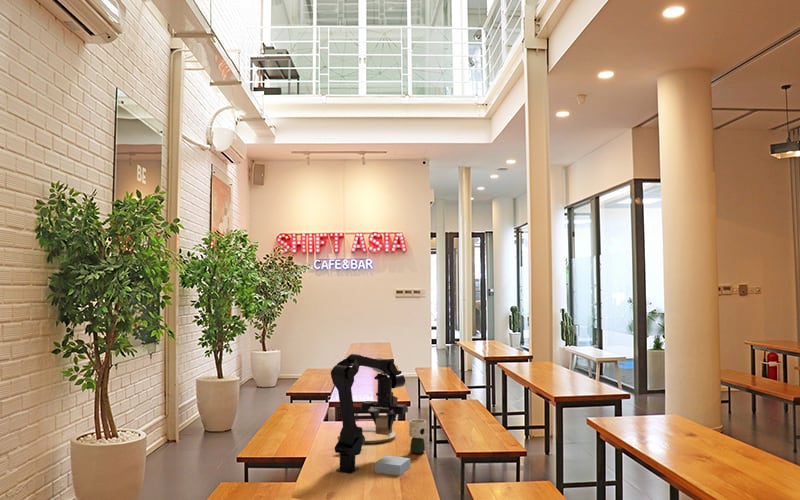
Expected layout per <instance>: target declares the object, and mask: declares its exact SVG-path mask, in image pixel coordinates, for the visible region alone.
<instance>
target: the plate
mask: <svg viewBox="0 0 800 500" xmlns="http://www.w3.org/2000/svg"><path fill="white" fill-rule="evenodd" d="M360 427H361V428H362V430H363V433H376V426H360ZM396 435H397V433H396V431H395V430H393V429H392V433H390V434H388V435H387V436H388V438H384V439H377V440H375V439H373V440H371V439H370V440H365V443H364V444H377V443H381V442H382V443H383V442H386V441H388V440H390V439H392V438H394V437H396Z"/></svg>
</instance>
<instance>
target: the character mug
mask: <svg viewBox="0 0 800 500" xmlns="http://www.w3.org/2000/svg"><path fill="white" fill-rule="evenodd" d="M408 422H409V424H408V436H409V437H410V438H411V441H410V446H409V447H410V448H409V451H410V452H411V453H415V454H424V453H425V452H426V447H425V440H424V438H425V437H427V431H426V430H427V420H425V419H419V418H414V419H410V420H409V421H408Z"/></svg>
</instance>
